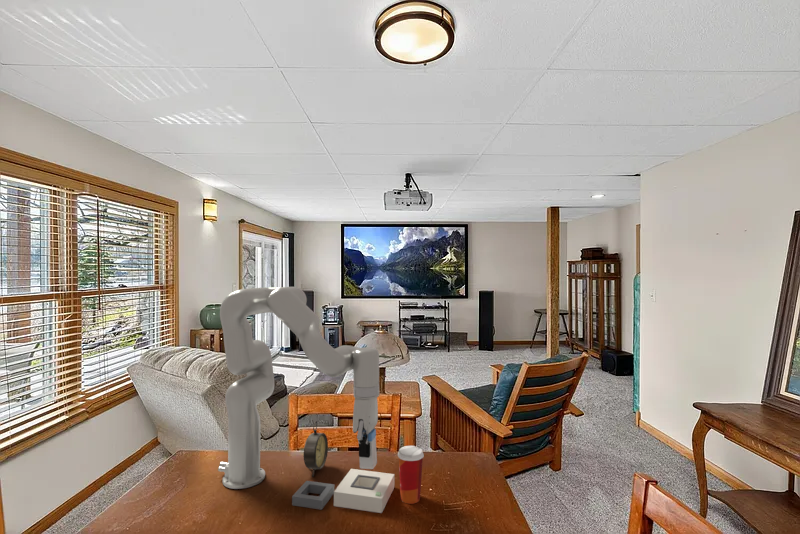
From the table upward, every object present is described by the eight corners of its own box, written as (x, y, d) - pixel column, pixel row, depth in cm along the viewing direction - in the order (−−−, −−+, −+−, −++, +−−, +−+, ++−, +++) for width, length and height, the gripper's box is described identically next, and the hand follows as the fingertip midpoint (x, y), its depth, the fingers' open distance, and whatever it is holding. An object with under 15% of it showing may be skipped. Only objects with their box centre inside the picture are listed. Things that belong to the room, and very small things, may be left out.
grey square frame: (292, 505, 119) (292, 496, 119) (306, 488, 128) (306, 480, 128) (321, 509, 117) (321, 500, 117) (334, 492, 125) (334, 484, 125)
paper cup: (410, 488, 128) (410, 442, 128) (429, 498, 123) (429, 450, 123) (391, 498, 123) (391, 450, 123) (410, 509, 117) (410, 458, 117)
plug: (359, 468, 122) (357, 433, 122) (364, 462, 126) (362, 428, 126) (373, 469, 121) (371, 434, 121) (377, 462, 125) (375, 428, 125)
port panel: (333, 505, 119) (333, 489, 119) (350, 481, 132) (351, 467, 132) (381, 513, 115) (381, 496, 115) (394, 487, 129) (394, 472, 129)
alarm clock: (316, 479, 133) (316, 427, 133) (300, 477, 135) (300, 426, 135) (328, 463, 144) (329, 416, 144) (313, 462, 145) (314, 414, 145)
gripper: (363, 382, 133) (363, 440, 133) (344, 398, 117) (344, 465, 116) (386, 383, 131) (386, 442, 131) (370, 400, 115) (370, 467, 115)
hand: (366, 452), depth 124 cm, fingers closed on plug, 4 cm apart
